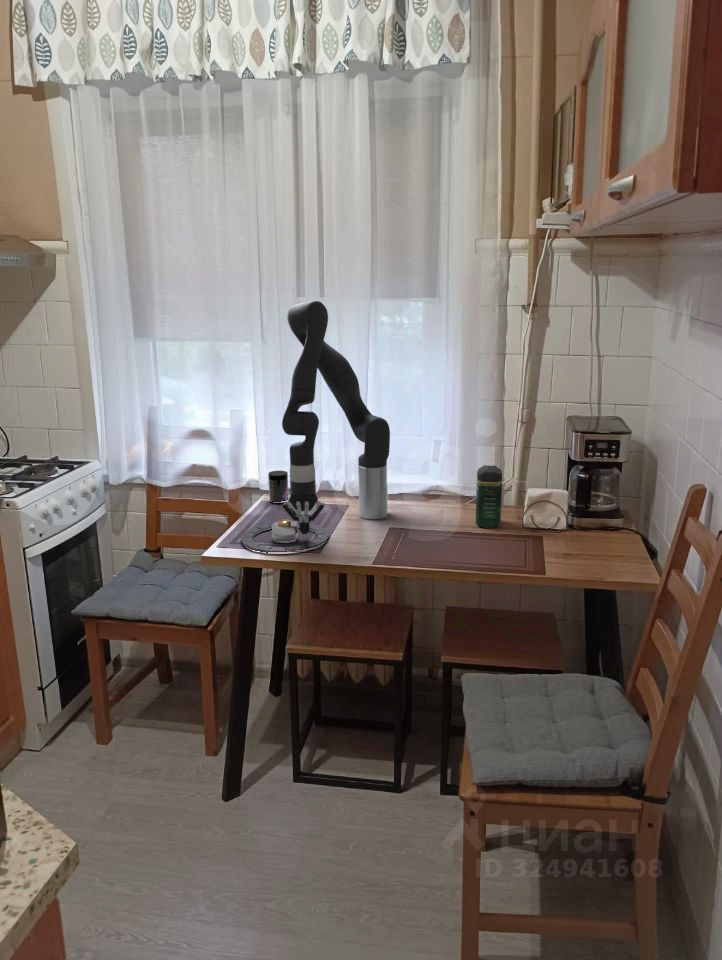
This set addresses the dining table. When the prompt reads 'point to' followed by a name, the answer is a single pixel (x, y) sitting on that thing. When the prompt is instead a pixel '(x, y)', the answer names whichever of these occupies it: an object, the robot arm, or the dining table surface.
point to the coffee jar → (488, 496)
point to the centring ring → (252, 545)
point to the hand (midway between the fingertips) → (304, 533)
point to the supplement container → (278, 486)
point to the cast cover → (284, 530)
